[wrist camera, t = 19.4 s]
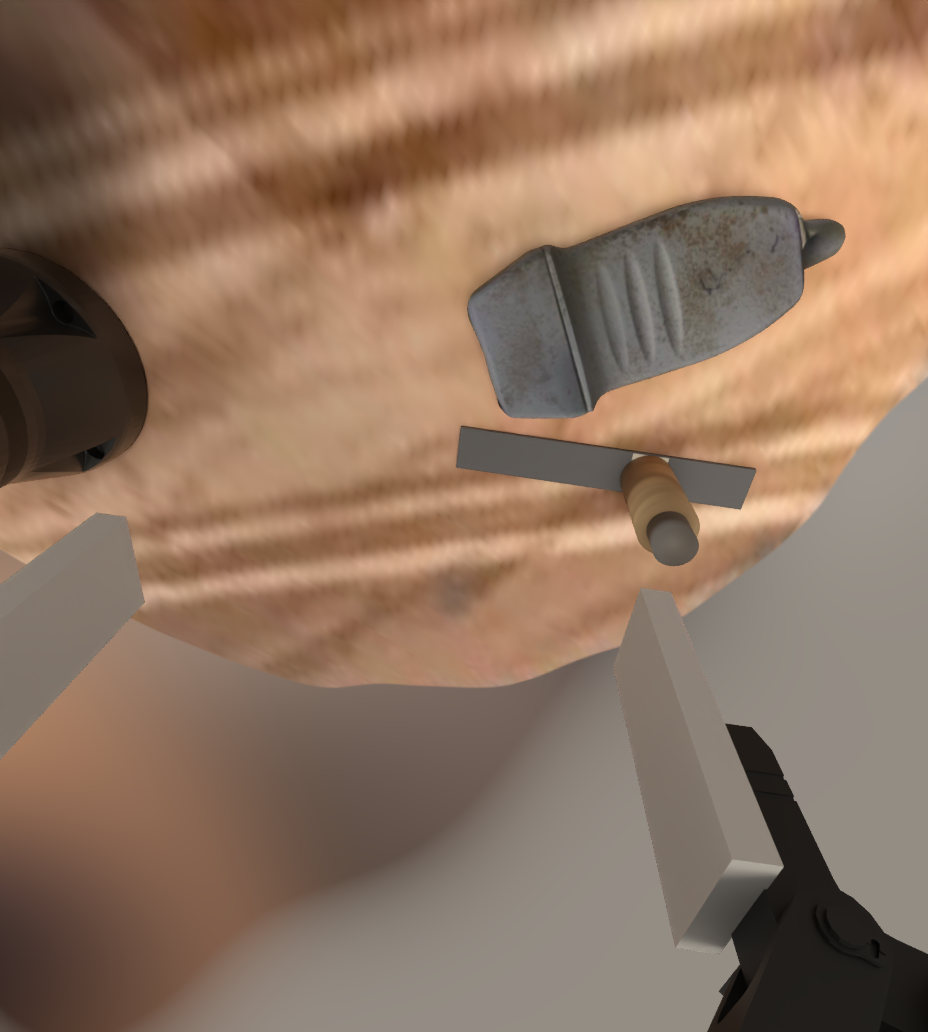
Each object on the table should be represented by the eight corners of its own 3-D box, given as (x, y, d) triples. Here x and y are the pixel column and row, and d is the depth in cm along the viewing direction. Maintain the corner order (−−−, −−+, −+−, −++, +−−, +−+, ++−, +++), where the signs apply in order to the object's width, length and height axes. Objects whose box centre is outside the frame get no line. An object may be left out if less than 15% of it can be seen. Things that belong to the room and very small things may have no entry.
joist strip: (456, 465, 40) (456, 467, 39) (461, 426, 38) (460, 427, 38) (739, 507, 39) (740, 509, 38) (755, 468, 37) (756, 470, 37)
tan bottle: (615, 498, 39) (636, 569, 31) (625, 452, 37) (650, 516, 29) (665, 504, 39) (699, 577, 31) (678, 458, 37) (717, 523, 29)
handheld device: (836, 316, 33) (878, 331, 29) (512, 419, 38) (509, 444, 34) (822, 132, 29) (870, 119, 25) (463, 276, 34) (453, 284, 30)
